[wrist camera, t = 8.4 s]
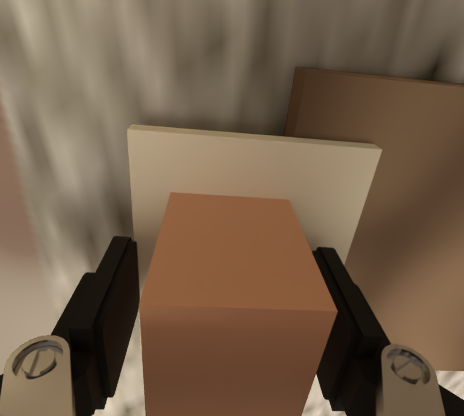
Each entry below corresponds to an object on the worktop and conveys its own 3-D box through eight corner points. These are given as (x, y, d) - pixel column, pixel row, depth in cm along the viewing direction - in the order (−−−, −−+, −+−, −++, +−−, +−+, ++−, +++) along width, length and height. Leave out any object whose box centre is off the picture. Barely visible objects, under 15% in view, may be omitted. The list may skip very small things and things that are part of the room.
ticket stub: (374, 144, 11) (507, 237, 6) (311, 343, 15) (355, 487, 11) (131, 124, 10) (50, 211, 5) (143, 339, 15) (108, 491, 10)
